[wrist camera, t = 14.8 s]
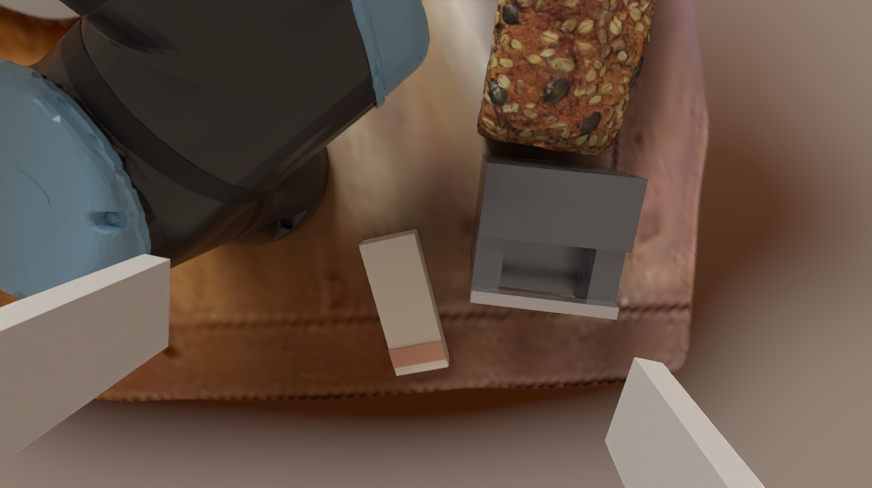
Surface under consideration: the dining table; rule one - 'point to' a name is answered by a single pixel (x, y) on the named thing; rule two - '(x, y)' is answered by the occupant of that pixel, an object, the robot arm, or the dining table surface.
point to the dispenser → (552, 234)
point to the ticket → (405, 302)
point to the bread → (563, 71)
